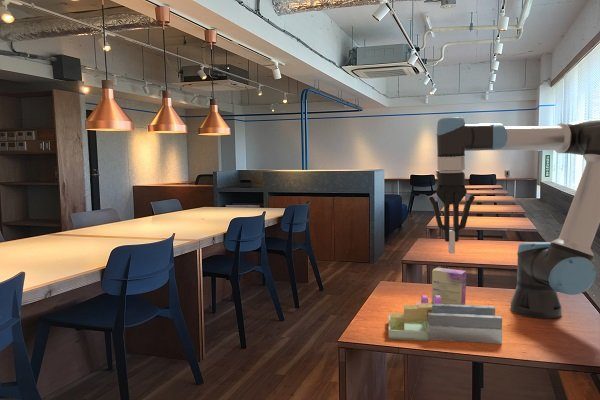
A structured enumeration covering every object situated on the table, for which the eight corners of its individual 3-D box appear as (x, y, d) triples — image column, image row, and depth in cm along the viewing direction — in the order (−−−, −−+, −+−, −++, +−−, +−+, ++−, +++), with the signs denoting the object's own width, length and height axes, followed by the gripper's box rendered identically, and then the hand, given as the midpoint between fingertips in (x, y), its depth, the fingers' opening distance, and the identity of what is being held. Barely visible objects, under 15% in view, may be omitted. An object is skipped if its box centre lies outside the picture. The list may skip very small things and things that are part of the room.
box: (465, 303, 169) (466, 270, 168) (461, 308, 165) (462, 273, 164) (436, 299, 175) (436, 266, 174) (431, 303, 170) (431, 270, 169)
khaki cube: (404, 313, 145) (390, 312, 146) (404, 317, 141) (390, 317, 142) (403, 326, 145) (390, 325, 146) (404, 331, 142) (390, 330, 142)
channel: (492, 328, 144) (493, 305, 144) (502, 343, 133) (502, 318, 132) (425, 325, 148) (425, 302, 147) (428, 339, 136) (428, 315, 136)
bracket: (441, 318, 154) (441, 297, 154) (423, 318, 154) (423, 297, 154) (430, 306, 167) (430, 286, 167) (414, 306, 167) (414, 286, 167)
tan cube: (418, 318, 144) (417, 304, 144) (418, 322, 140) (418, 308, 140) (404, 318, 145) (403, 305, 145) (404, 322, 141) (404, 309, 141)
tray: (425, 324, 149) (425, 316, 149) (428, 341, 135) (428, 332, 135) (388, 322, 151) (388, 314, 151) (388, 338, 137) (388, 330, 137)
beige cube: (431, 316, 143) (431, 303, 143) (433, 321, 140) (432, 307, 139) (417, 316, 144) (417, 303, 144) (418, 321, 140) (418, 307, 140)
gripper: (472, 170, 142) (472, 250, 145) (426, 172, 145) (427, 250, 147) (477, 171, 135) (477, 255, 137) (429, 173, 137) (429, 255, 139)
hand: (451, 252), depth 142 cm, fingers closed
